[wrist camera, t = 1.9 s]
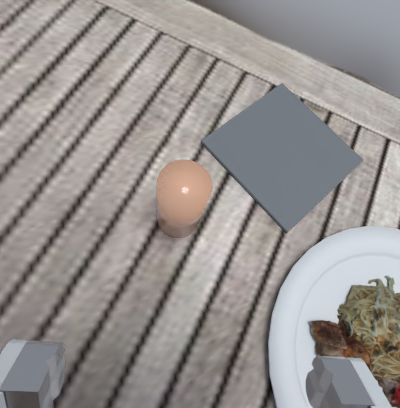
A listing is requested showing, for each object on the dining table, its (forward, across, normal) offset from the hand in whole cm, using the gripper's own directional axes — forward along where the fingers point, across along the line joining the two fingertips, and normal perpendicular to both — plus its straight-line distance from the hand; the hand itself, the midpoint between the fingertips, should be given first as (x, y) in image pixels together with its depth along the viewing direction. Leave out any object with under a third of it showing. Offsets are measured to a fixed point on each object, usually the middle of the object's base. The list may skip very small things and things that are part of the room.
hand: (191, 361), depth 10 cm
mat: (+34, -13, +1) cm, 36 cm away
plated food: (+17, -25, +19) cm, 36 cm away
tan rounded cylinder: (+26, 0, +8) cm, 27 cm away
